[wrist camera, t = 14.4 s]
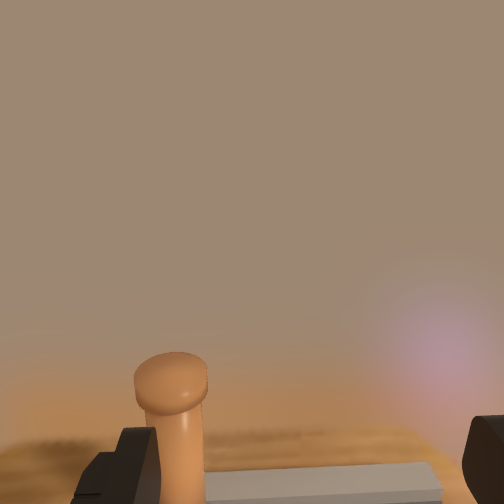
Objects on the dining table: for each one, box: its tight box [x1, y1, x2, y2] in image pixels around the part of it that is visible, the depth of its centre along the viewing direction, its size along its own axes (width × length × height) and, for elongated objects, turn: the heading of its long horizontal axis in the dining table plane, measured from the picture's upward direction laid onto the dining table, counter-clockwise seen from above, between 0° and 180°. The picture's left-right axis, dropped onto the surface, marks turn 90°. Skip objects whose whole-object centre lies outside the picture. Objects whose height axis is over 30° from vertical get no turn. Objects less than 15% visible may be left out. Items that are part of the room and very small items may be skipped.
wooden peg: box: [134, 352, 208, 504], centre depth 25 cm, size 4×4×14 cm
